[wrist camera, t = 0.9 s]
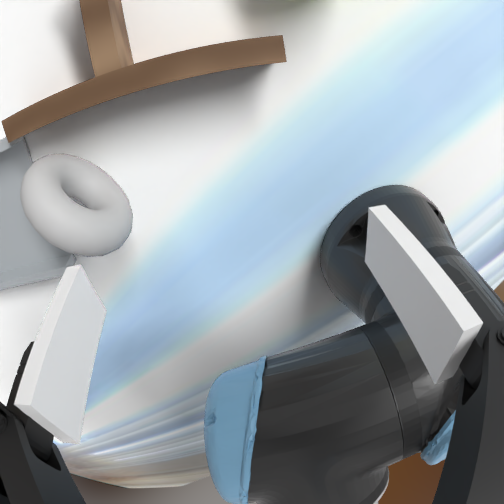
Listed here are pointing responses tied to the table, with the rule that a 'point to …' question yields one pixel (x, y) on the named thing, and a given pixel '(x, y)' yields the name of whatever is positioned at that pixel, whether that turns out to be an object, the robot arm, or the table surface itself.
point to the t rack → (134, 67)
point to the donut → (75, 205)
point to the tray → (22, 227)
